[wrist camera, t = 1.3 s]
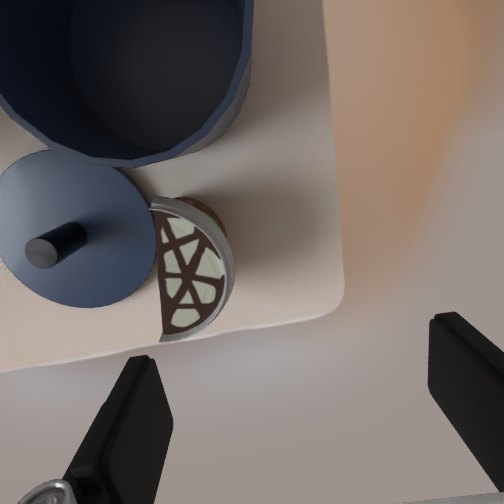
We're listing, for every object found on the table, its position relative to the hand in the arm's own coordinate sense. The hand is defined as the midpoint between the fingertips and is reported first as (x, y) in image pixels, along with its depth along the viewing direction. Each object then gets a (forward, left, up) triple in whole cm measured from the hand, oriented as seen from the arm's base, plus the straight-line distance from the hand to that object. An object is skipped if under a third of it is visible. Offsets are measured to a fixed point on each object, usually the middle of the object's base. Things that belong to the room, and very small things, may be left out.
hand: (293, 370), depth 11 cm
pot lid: (-19, -4, -23) cm, 30 cm away
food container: (-5, -4, -24) cm, 25 cm away
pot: (-10, +13, -24) cm, 29 cm away
